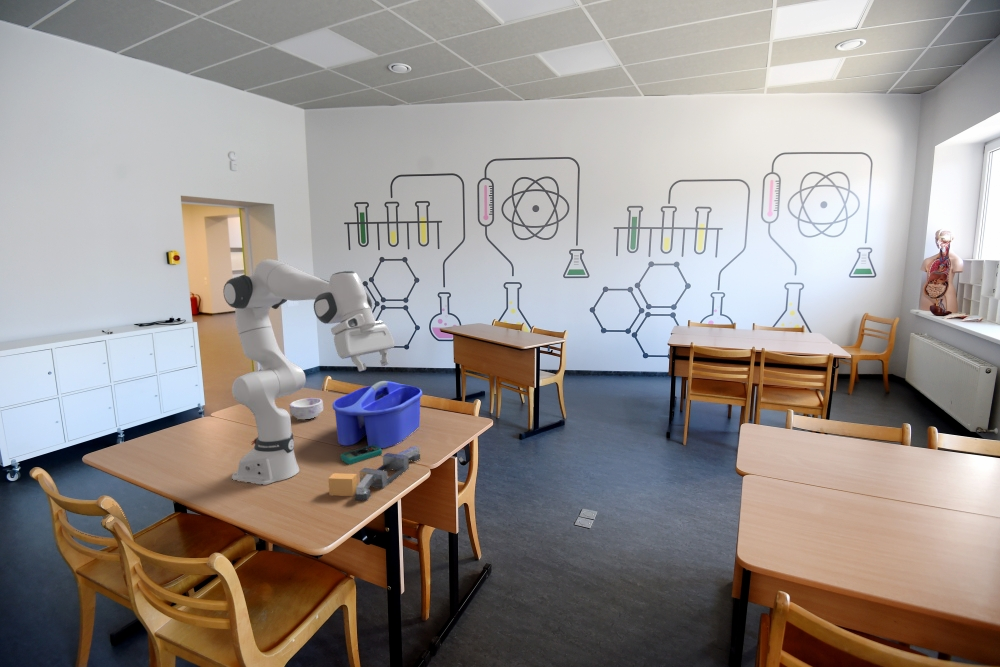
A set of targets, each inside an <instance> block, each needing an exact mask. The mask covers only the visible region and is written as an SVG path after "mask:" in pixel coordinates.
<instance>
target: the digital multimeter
mask: <svg viewBox="0 0 1000 667" xmlns="http://www.w3.org/2000/svg"><path fill="white" fill-rule="evenodd" d="M381 454H382V455H383V451H382V449H380V448H379V447H377V446H375V445H371V446H368V445H367V446H364V447H361V448H358V449H354V450H351V451H347V452H343V453H341V454H340V460H341V462H343V461H344V462H343V463H345V464H346V465H349V464H350V465H353V464H357V463H359V462H362V461H365V459H366V460H369V459H372V458H376V457H379V456H382V455H381ZM378 455H379V456H378ZM375 456H376V457H375ZM368 458H369V459H368Z"/></svg>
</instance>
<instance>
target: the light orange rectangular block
mask: <svg viewBox="0 0 1000 667" xmlns="http://www.w3.org/2000/svg"><path fill="white" fill-rule="evenodd" d="M327 479H328V492H329V496H333V495H340V496H341V497H354V496H355V493H356V487H357V486H358V476H357V473H344V472H343V473H341V472H340V473H338V472H337V473H336V472H333V473H332V474H331V475H330V476H329V477H328V478H327ZM353 495H354V496H353ZM340 496H339V497H340Z"/></svg>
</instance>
